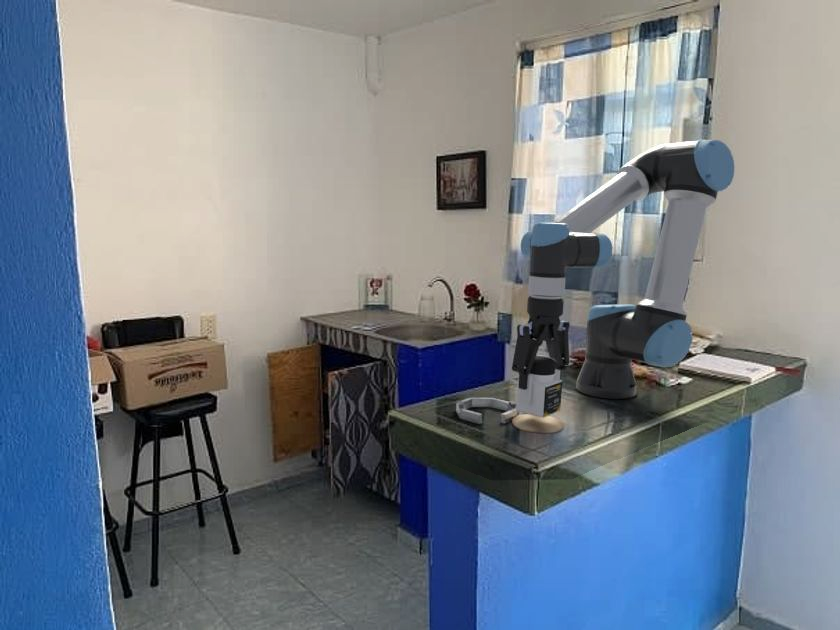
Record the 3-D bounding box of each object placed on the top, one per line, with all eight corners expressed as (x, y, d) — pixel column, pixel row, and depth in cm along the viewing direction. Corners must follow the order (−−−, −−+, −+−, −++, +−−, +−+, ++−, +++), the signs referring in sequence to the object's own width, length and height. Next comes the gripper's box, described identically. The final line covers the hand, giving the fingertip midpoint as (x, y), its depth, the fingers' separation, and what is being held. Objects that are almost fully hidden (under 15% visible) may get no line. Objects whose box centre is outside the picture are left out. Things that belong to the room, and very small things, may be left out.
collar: (507, 405, 149) (507, 394, 148) (521, 423, 136) (521, 411, 136) (453, 405, 147) (453, 394, 147) (462, 423, 135) (463, 411, 134)
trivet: (554, 416, 142) (554, 413, 142) (570, 433, 131) (570, 430, 131) (507, 416, 141) (507, 414, 140) (519, 433, 130) (519, 430, 130)
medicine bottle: (543, 418, 130) (547, 362, 128) (515, 410, 135) (518, 356, 133) (560, 411, 135) (564, 357, 134) (532, 404, 140) (536, 352, 138)
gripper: (565, 292, 140) (558, 389, 144) (497, 296, 128) (491, 403, 132) (592, 296, 134) (584, 398, 138) (523, 301, 122) (516, 412, 126)
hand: (539, 400), depth 135 cm, fingers closed on medicine bottle, 8 cm apart
